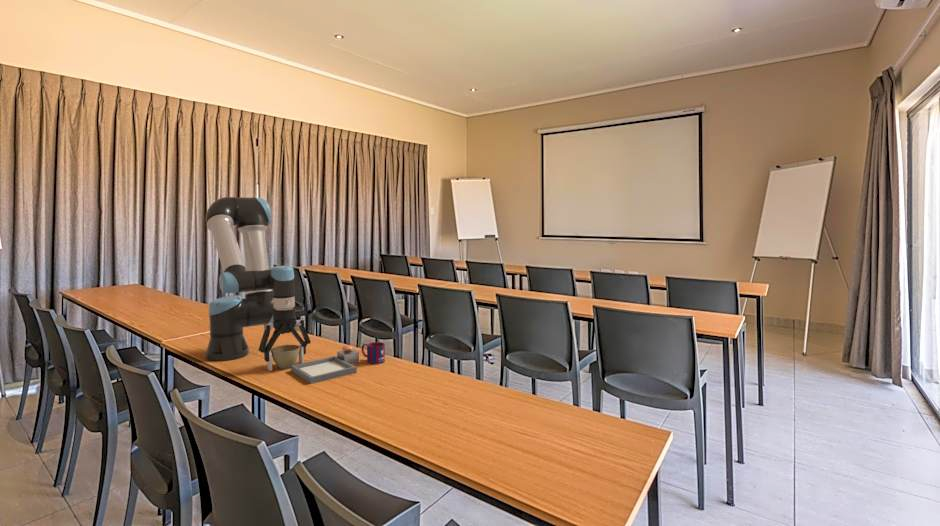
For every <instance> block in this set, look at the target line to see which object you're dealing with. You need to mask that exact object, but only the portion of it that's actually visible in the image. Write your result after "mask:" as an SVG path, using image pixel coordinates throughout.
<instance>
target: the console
mask: <svg viewBox="0 0 940 526" xmlns="http://www.w3.org/2000/svg"><path fill="white" fill-rule="evenodd" d="M336 357H338V358H340V359H342V360H344V361H346V362H348V363H350V364H352V365H354V364H356V363H360V352H359V351H357V350H355V349H354V348H353V349H352V350H351V353H345V350H338V351H336Z"/></svg>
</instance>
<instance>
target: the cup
mask: <svg viewBox="0 0 940 526" xmlns="http://www.w3.org/2000/svg"><path fill="white" fill-rule="evenodd" d="M365 346H366V353H365V351H364V350H365V349H364V348H365ZM385 346H386V344H385V343H384V342H381V341H380V342H378V341H376V342H375V341H374V342H369V343H363V344H362V346H361V353H362V355H363V356H364V357H365V358H366V359H367V361H366V362H367V363H368V364H370V365H380V364H384V363H385V361H386V353H385V352H386V351H385V350H386V347H385Z"/></svg>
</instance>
